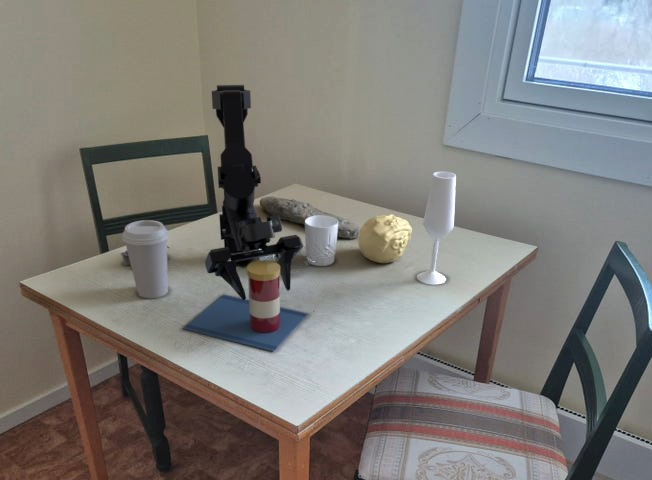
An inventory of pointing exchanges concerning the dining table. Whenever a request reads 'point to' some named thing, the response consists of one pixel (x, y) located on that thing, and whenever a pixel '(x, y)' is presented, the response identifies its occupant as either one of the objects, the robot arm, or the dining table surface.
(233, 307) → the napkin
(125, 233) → the coffee cup
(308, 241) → the white cup
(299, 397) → the dining table surface
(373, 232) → the sculpture
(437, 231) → the champagne flute
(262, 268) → the jam jar
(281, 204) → the elongated rock
